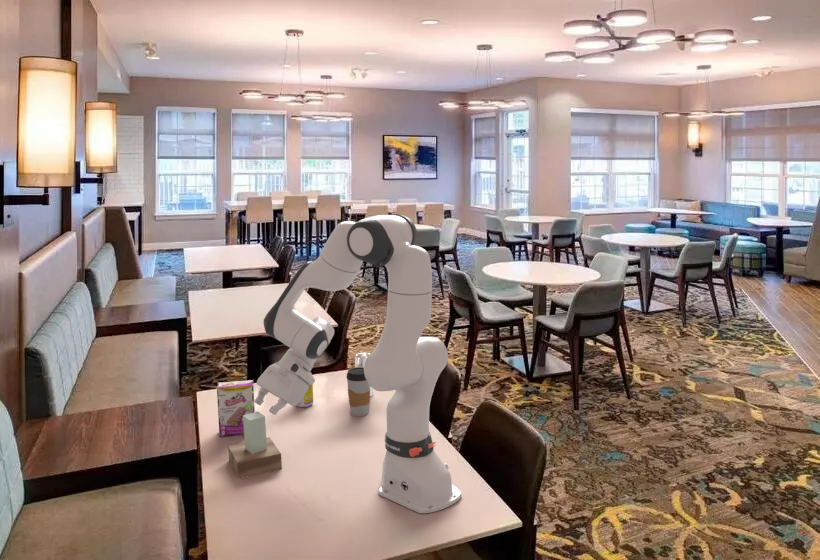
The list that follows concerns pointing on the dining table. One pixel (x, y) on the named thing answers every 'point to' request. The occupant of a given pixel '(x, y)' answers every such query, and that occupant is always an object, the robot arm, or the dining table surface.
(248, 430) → the sage pillar
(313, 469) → the dining table surface
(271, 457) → the walnut block
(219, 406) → the candy bar box
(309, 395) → the supplement bottle
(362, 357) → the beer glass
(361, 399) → the coffee cup
